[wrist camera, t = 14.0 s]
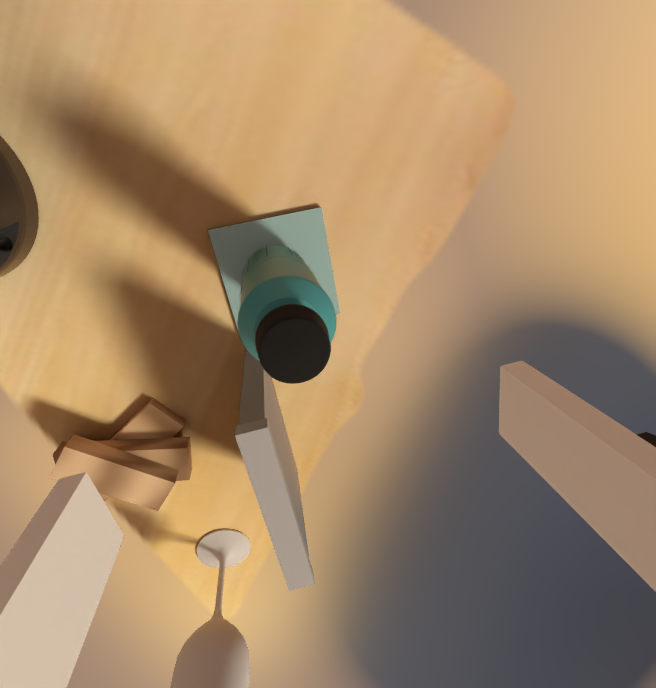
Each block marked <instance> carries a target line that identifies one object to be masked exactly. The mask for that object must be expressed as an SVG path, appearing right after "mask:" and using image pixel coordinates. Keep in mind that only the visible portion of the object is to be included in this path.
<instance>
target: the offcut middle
mask: <svg viewBox="0 0 656 688" xmlns="http://www.w3.org/2000/svg"><path fill="white" fill-rule="evenodd" d="M95 442H98V443H101V444H104V445H107V446H110V447H113V448H116V449H118V450H121V451H124V452H127V453H130V454H133V455H136V456H139V457H142V458H145V459H148V460H150V461H153V462H156V463H159V464H162V465H165V466H168V467H171V468H174V469H177V470H179V471H178V475H177V478H176V481H181V480H189V479H190V475H191V471H192V459H191V445H190V437H178V438H153V439H128V440H103V441H95ZM67 443H68V442H62V443H61V444H60V446H59V447H58V448H57V450H56V451H55V452H54V454H53V457H54V461H55V465H56V463H57V461H58V459H59V457H60V455H61V453H62V451H63V449H64V447H65V445H66V444H67Z"/></svg>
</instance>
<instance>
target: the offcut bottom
mask: <svg viewBox="0 0 656 688" xmlns="http://www.w3.org/2000/svg"><path fill="white" fill-rule="evenodd" d="M185 422H186V420H185V419H183V418H182V417H180V416H179V415H177V414H176V413H174V412H173V411H172V410H170V409H169V408H167V407H166V406H164V405H163V404H161V403H160V402H158V401H157V400H156V399H154V398H152V399H151V400H150V401H149V402H148V403H147V404H146V405H145V406H144V407H143V408H142V409H141V410H140V411H139V412H138V413H136V414H135V415H134V416H133V417H132V418H131V419H130V420H129V421H128V422H127V423H126V424H125V425H124V426H123V427H122V428H121V429H120V430H119V431H118V432H117V433H116V434H115V435H114V436H113V437H112V438H111V439H110V440H128V439H153V438H172V437H173V436H174V435H175V434H176V433H178V432H179V431H180V430H181V429H182V428H183V427H184V425H185ZM100 495H101V497H102V499H103V501H105V500H106V499H107V498H108V497H109V496H106V495H103V494H100Z"/></svg>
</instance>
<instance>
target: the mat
mask: <svg viewBox="0 0 656 688" xmlns="http://www.w3.org/2000/svg"><path fill="white" fill-rule="evenodd" d="M208 233H209V236H210V240H211V243H212V246H213V249H214V253H215V256H216V259H217V263H218V266H219V269H220V273H221V276H222V279H223V282H224V286H225V289H226V292H227V296H228V299H229V302H230V306H231V309H232V312H233V316H234V319H235V322H236V325H237V321H238V313H239V308H240V305H241V304H240V303H241V302H240V301H241V300H240V299H241V297H240V296H241V292H239V291H241V286H242V284H243V281H242V280H243V277H244V272H243V269H244V271H245V267H246V265H247V263H248V260H250V258H251V257H252V256H253V255H254V254H255V253H256V252H258V251H259V250H261V249H263V248H266V247H269V246H283V247H286V248H288V247H289V249H291V250H292V248H293V251H297V252H296V253H297V254H298V253H299V254H298V255H299V256H302V257H303V260H304V259H305V260H304V262H305V263H306V265H307V266H308V267H309V269H310V270H311V271H312V272H314V273H313V274H314V276H315V275H316V276H315V278H316V279H317V281H318V283H319V284H320V286H321V287H322V289H323V290H324V291H325V292H326V293H327V295H328V296H329V298H330V299H331V301H332V303H333V306H334V309H335V313H336V314H339V313H340V311H339V305H338V300H337V294H336V288H335V282H334V277H333V271H332V265H331V260H330V254H329V248H328V242H327V237H326V231H325V225H324V219H323V214H322V208H321V207H318V208H313V209H308V210H304V211H299V212H294V213H289V214H284V215H279V216H274V217H269V218H264V219H259V220H254V221H249V222H244V223H239V224H235V225H230V226H225V227H220V228H215V229H210V230H208ZM264 246H265V247H264ZM256 250H258V251H256ZM254 252H255V253H254ZM253 253H254V254H253ZM302 257H301V258H302ZM244 266H245V267H244ZM242 273H243V275H242ZM241 281H242V282H241ZM240 284H241V285H240ZM239 300H240V301H239ZM237 329H238V325H237Z"/></svg>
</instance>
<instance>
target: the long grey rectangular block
mask: <svg viewBox="0 0 656 688" xmlns="http://www.w3.org/2000/svg"><path fill="white" fill-rule="evenodd" d="M235 438H236V441H237V443H238V446H239V449H240V452H241V455H242V458H243V461H244V463H245V466H246V469H247V472H248V475H249V478H250V480H251V483H252V486H253V489H254V492H255V495H256V497H257V500H258V503H259V506H260V509H261V512H262V515H263V517H264V520H265V523H266V526H267V529H268V532H269V534H270V537H271V540H272V543H273V546H274V549H275V551H276V554H277V557H278V560H279V563H280V566H281V568H282V571H283V574H284V577H285V580H286V582H287V586H288V588H289V591H291V590H295V589H298V588H302V587H305V586H308V585H312V584H315V582H314V574H313V569H312V566H311V563H310V560H309V553H308V546H307V539H306V531H305V524H304V517H303V510H302V502H301V494H300V487H299V480H298V472H297V468H296V464H295V461H294V457H293V453H292V450H291V446H290V443H289V439H288V435H287V432H286V428H285V425H284V421H283V417H282V414H281V410H280V407H279V403H278V399H277V396H276V392H275V389H274V385H273V381H272V378H271V376H270V375H269V374H268V373H267V372H266V371H265V370H264V369H263V367H262V365H261V364H260V361H258V360H257V359H255V358H254V357H253V356H252V355H251V354H250V353H249V352H248V351H245V356H244V368H243V379H242V390H241V401H240V413H239V424H238V426H236V428H235Z"/></svg>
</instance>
